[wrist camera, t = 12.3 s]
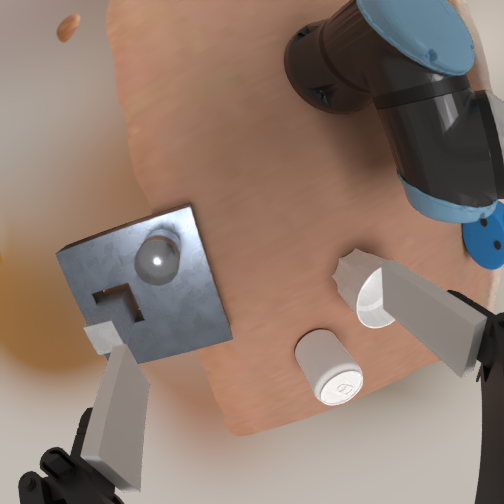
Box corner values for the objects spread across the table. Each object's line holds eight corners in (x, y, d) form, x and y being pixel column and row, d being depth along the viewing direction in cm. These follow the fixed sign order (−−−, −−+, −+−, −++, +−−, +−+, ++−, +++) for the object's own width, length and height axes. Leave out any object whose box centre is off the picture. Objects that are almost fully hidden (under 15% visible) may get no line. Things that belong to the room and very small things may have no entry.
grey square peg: (107, 286, 40) (83, 327, 29) (130, 279, 41) (111, 320, 29) (118, 309, 42) (98, 355, 30) (140, 303, 42) (126, 348, 31)
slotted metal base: (66, 245, 37) (36, 268, 28) (190, 202, 39) (188, 215, 30) (117, 354, 44) (106, 394, 34) (229, 325, 46) (239, 364, 36)
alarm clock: (476, 248, 53) (524, 270, 39) (461, 258, 52) (510, 283, 38) (474, 193, 48) (527, 208, 34) (458, 201, 48) (515, 218, 34)
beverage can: (313, 320, 49) (344, 361, 37) (343, 337, 51) (375, 376, 40) (284, 354, 50) (306, 400, 38) (315, 369, 52) (340, 411, 41)
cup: (340, 236, 45) (374, 255, 36) (386, 252, 47) (422, 272, 38) (318, 293, 47) (345, 323, 38) (364, 303, 50) (394, 331, 40)
